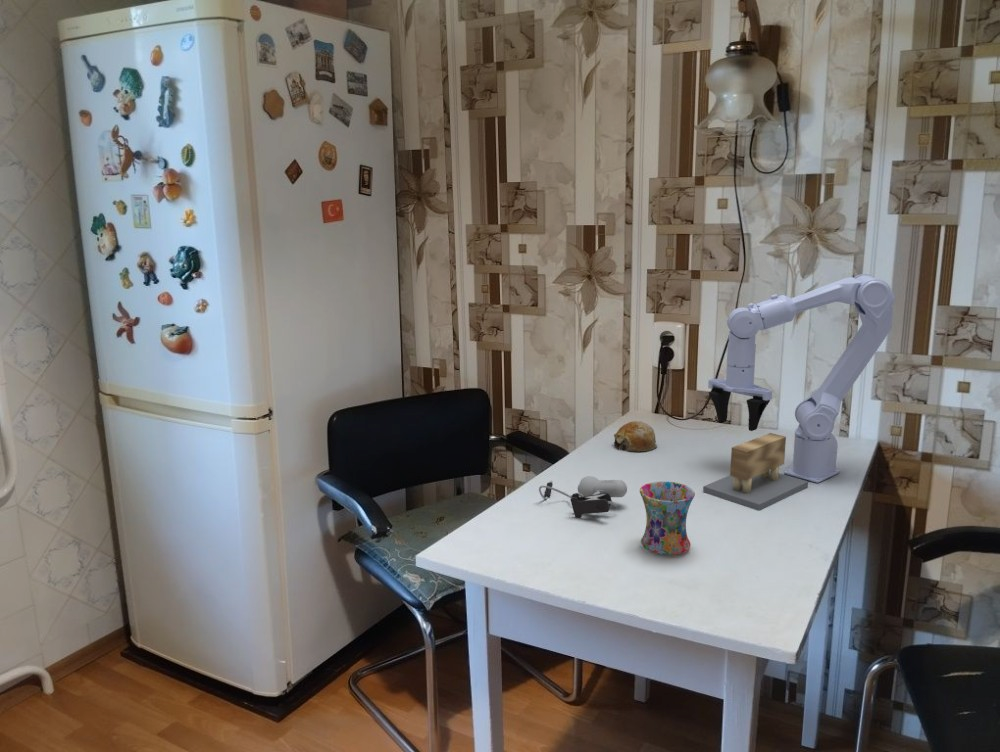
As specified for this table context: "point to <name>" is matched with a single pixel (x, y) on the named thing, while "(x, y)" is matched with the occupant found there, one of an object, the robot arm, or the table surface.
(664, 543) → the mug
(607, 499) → the clip-on lamp
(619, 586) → the table surface
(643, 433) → the bread roll
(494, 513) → the table surface
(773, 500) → the peg stand
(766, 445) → the oak bar
